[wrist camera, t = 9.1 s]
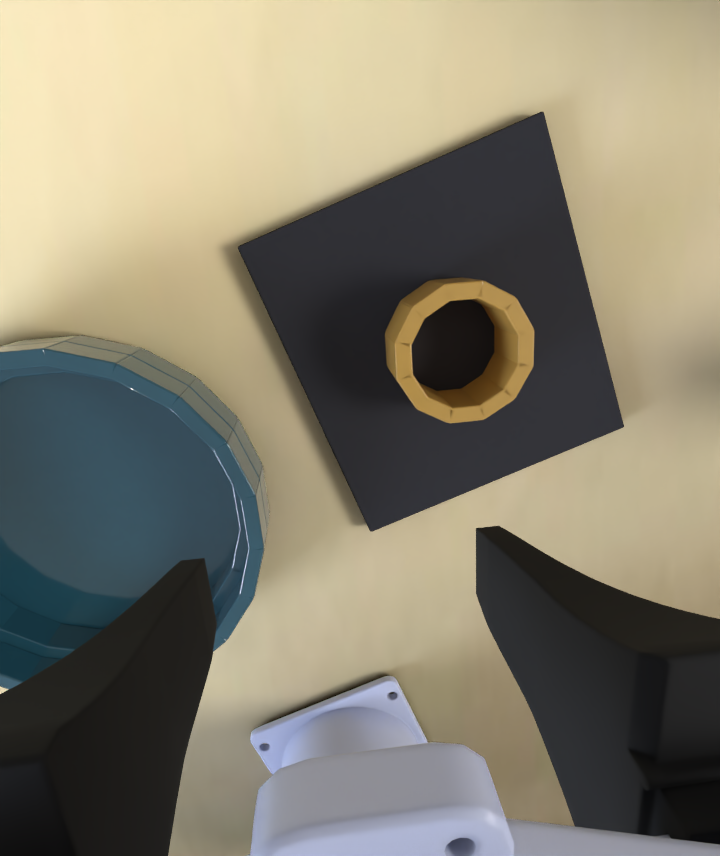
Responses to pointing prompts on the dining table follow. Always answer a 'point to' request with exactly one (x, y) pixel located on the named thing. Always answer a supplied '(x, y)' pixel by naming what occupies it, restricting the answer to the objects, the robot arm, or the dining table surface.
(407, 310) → the napkin ring
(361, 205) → the coaster
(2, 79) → the dining table surface
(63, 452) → the bowl
